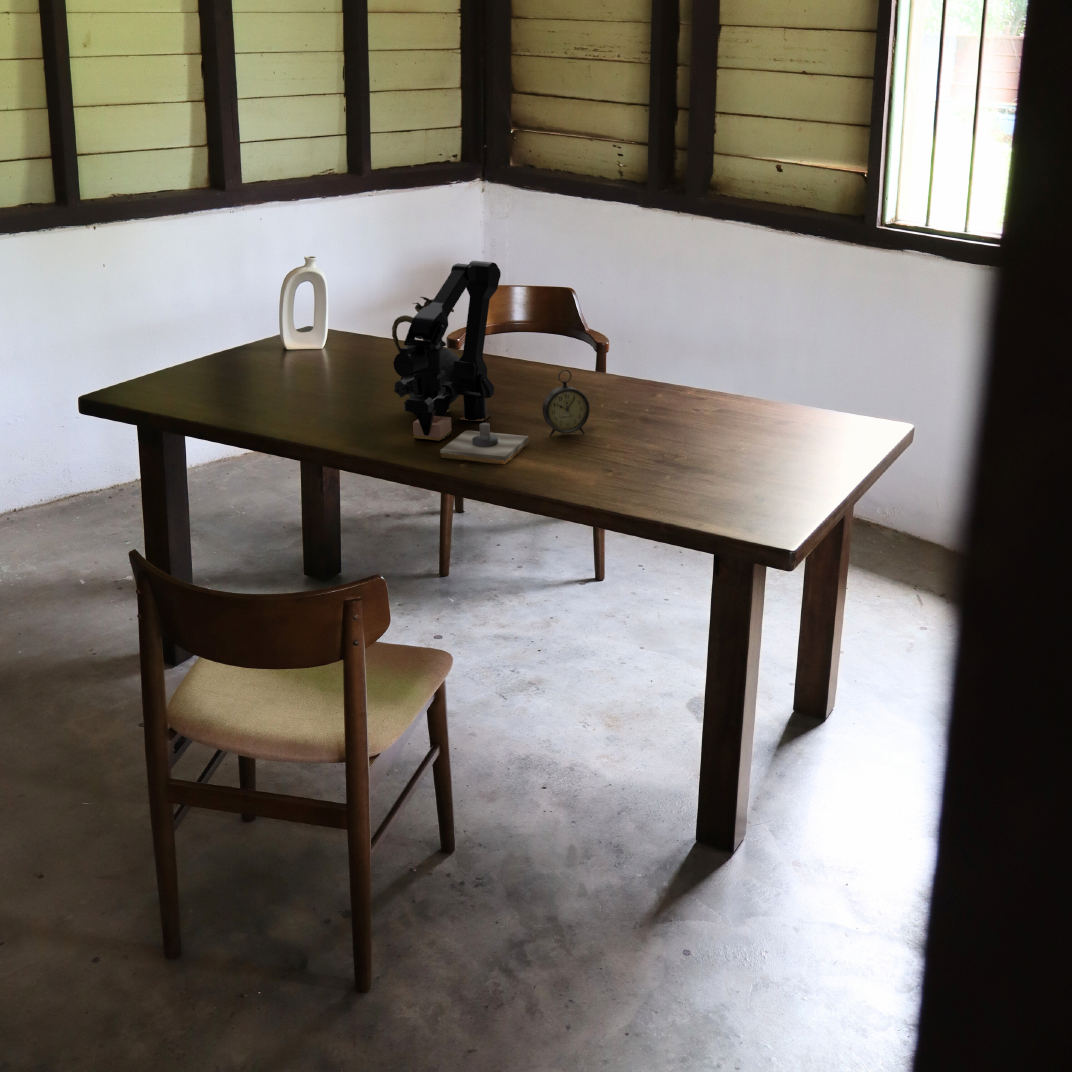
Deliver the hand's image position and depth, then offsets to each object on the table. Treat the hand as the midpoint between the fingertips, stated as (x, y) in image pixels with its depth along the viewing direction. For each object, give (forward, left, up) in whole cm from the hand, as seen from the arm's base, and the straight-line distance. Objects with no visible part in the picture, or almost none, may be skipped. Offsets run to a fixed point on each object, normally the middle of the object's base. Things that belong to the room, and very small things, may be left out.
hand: (432, 430), depth 287 cm
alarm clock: (-12, +30, -2) cm, 32 cm away
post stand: (+6, +16, -2) cm, 17 cm away
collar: (0, 0, -1) cm, 1 cm away
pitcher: (-21, -10, -2) cm, 23 cm away
